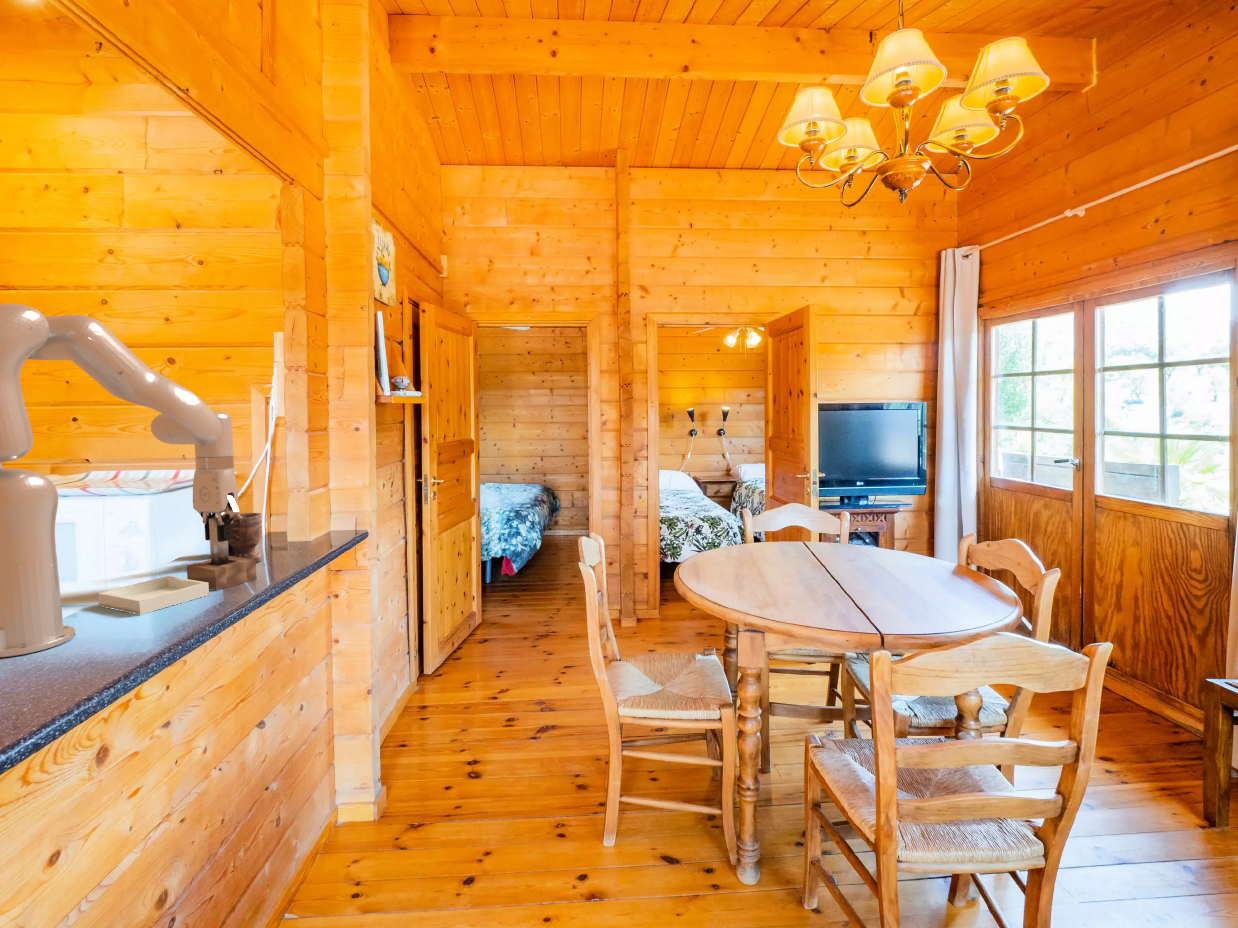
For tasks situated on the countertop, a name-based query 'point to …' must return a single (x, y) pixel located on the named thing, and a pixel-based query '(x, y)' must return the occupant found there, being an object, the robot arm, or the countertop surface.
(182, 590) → the tray
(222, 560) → the pin
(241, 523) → the mortar and pestle
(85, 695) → the countertop surface
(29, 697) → the countertop surface
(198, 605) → the countertop surface
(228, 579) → the pin block
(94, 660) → the countertop surface
